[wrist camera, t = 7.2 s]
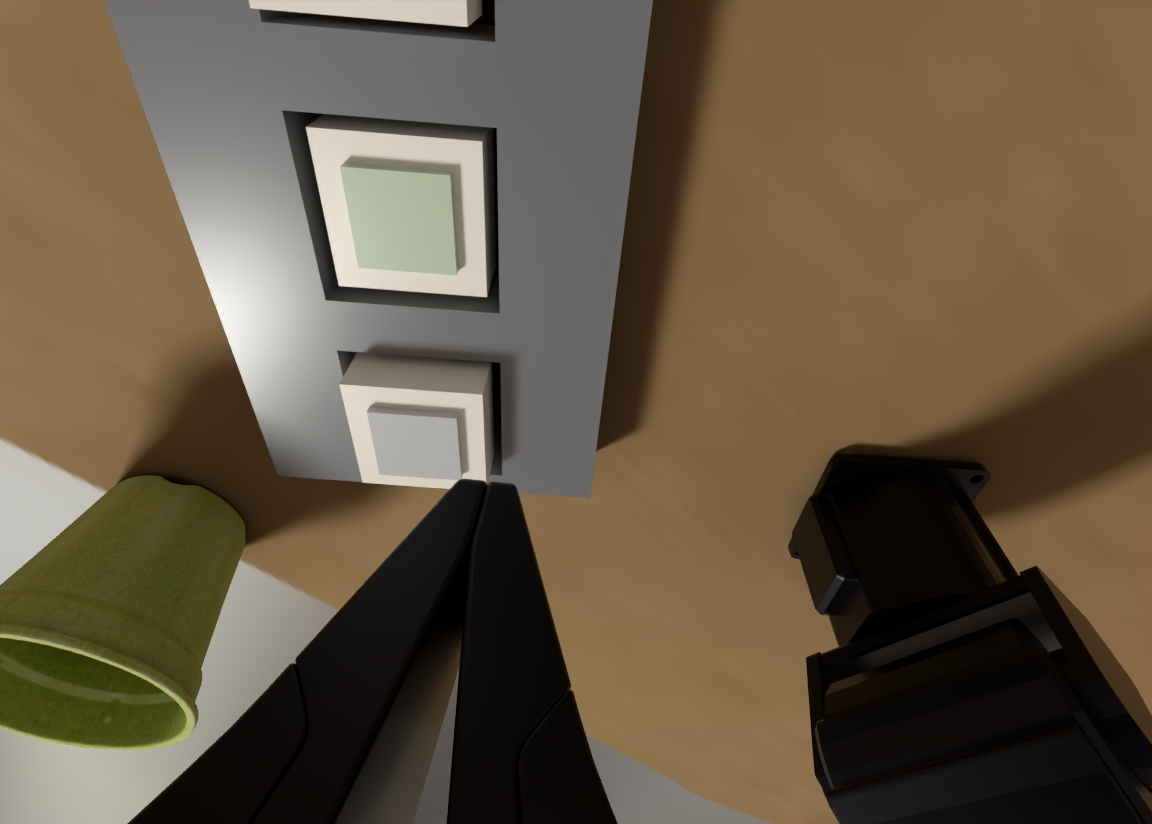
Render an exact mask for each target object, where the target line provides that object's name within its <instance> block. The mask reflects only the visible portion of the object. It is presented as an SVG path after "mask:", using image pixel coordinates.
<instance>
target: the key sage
mask: <svg viewBox="0 0 1152 824" xmlns="http://www.w3.org/2000/svg"><path fill="white" fill-rule="evenodd" d="M306 131H307V136H308V141H309V145H310V150H311V155H312V160H313V165H314V169H315V174H316V179H317V184H318V188H319V193H320V198H321V203H322V208H323V212H324V217H325V222H326V227H327V232H328V236H329V241H330V246H331V251H332V255H333V260H334V265H335V270H336V275H337V279H338V284H339V286H346V287H359V288H372V289H385V290H398V291H411V292H424V293H437V294H450V295H463V296H476V297H487V296H488V292H489V289H490V286H491V282H492V279H493V275H494V272H495V269H496V241H495V188H494V136H493V128H490V127H478V126H466V125H454V124H442V123H430V122H417V121H405V120H393V119H381V118H369V117H357V116H345V115H333V114H323V115H322V116H320V117H319V118H318V119H316V120H315V121H313V122H312V123H311V124H309V125H308V126H306Z"/></svg>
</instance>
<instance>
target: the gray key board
mask: <svg viewBox="0 0 1152 824" xmlns="http://www.w3.org/2000/svg"><path fill="white" fill-rule="evenodd" d="M104 2H105V5H106V8H107V10H108V13H109V16H110V19H111V21H112V24H113V27H114V30H115V32H116V35H117V38H118V41H119V43H120V46H121V49H122V51H123V54H124V57H125V60H126V62H127V65H128V68H129V71H130V73H131V76H132V79H133V81H134V84H135V87H136V90H137V92H138V95H139V98H140V101H141V103H142V106H143V109H144V112H145V114H146V117H147V120H148V122H149V125H150V128H151V131H152V133H153V136H154V139H155V142H156V144H157V147H158V150H159V152H160V155H161V158H162V161H163V163H164V166H165V169H166V172H167V174H168V177H169V180H170V183H171V185H172V188H173V191H174V193H175V196H176V199H177V202H178V204H179V207H180V210H181V213H182V215H183V218H184V221H185V223H186V226H187V229H188V232H189V234H190V237H191V240H192V243H193V245H194V248H195V251H196V254H197V256H198V259H199V262H200V264H201V267H202V270H203V273H204V275H205V278H206V281H207V284H208V286H209V289H210V292H211V294H212V297H213V300H214V303H215V305H216V308H217V311H218V314H219V316H220V319H221V322H222V325H223V327H224V330H225V333H226V335H227V338H228V341H229V344H230V346H231V349H232V352H233V355H234V357H235V360H236V363H237V365H238V368H239V371H240V374H241V376H242V379H243V382H244V385H245V387H246V390H247V393H248V396H249V398H250V401H251V404H252V406H253V409H254V412H255V415H256V417H257V420H258V423H259V426H260V428H261V431H262V434H263V436H264V439H265V442H266V445H267V447H268V450H269V453H270V456H271V458H272V461H273V464H274V467H275V469H276V472H277V475H278V476H283V477H298V478H312V479H326V480H341V481H355V482H362V478H361V474H360V470H359V466H358V461H357V457H356V453H355V449H354V444H353V440H352V436H351V432H350V428H349V423H348V419H347V415H346V411H345V406H344V402H343V398H342V394H341V389H340V385H339V384H340V382H341V380H342V378H343V377H344V375H345V373H346V371H347V369H348V368H349V366H350V364H351V362H352V360H353V359H354V357H355V355H356V353H357V352H364V353H377V354H391V355H404V356H418V357H431V358H445V359H458V360H472V361H485V362H499V363H500V367H501V431H502V432H494V456H493V461H492V466H491V472H490V477H489V482H488V484H489V483H490V482H502V483H512V484H514V485H515V486H516V487H517V490H518V493H527V494H542V495H556V496H570V497H585V498H590V495H591V488H592V480H593V472H594V464H595V456H596V448H597V440H598V432H599V424H600V416H601V408H602V400H603V392H604V385H605V377H606V369H607V361H608V353H609V345H610V337H611V329H612V321H613V313H614V305H615V297H616V290H617V282H618V274H619V266H620V258H621V250H622V242H623V234H624V226H625V218H626V210H627V202H628V195H629V187H630V179H631V171H632V163H633V155H634V147H635V139H636V131H637V123H638V115H639V107H640V99H641V92H642V84H643V76H644V68H645V60H646V52H647V44H648V36H649V28H650V20H651V12H652V4H653V0H495V26H491V25H480V24H471V25H469V26H468V27H461V26H450V25H438V24H427V23H415V22H404V21H392V20H380V19H369V18H357V17H346V16H334V15H322V14H311V13H299V12H288V11H276V10H265V9H253V8H250V5H249V0H104ZM323 114H333V115H345V116H357V117H369V118H381V119H393V120H405V121H417V122H430V123H442V124H454V125H466V126H478V127H490V128H497V175H498V239H499V276H496V275H493V279H492V282H491V286H490V289H489V292H488V296H487V297H476V296H463V295H450V294H437V293H424V292H411V291H398V290H385V289H372V288H359V287H346V286H339V284H338V279H337V275H336V270H335V265H334V260H333V255H332V251H331V246H330V241H329V236H328V232H327V227H326V222H325V217H324V212H323V208H322V203H321V198H320V193H319V188H318V184H317V179H316V174H315V169H314V165H313V160H312V155H311V150H310V145H309V141H308V136H307V131H306V126H308V125H309V124H311V123H312V122H313V121H315V120H316V119H318V118H319V117H320V116H322V115H323Z"/></svg>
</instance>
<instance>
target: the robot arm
mask: <svg viewBox="0 0 1152 824" xmlns="http://www.w3.org/2000/svg"><path fill="white" fill-rule="evenodd" d="M843 465H845V466H843ZM841 466H842V467H841ZM989 478H990V473H989V472H988V471H987V469H986V468H985V467H984V466H983V465H982V464H977V463H963V462H949V461H935V460H921V459H907V458H893V457H880V456H866V455H852V454H840V455H837V456H834V457H833V458H831V459H830V461H829V462H828V464H827V466H826V468H825V470H824V472H823V474H822V477H821V479H820V481H819V483H818V485H817V487H816V489H815V491H814V493H813V495H812V496H811V497H810V498H809V499H808V501H807V503H806V505H805V507H804V509H803V511H802V513H801V515H800V517H799V519H798V521H797V524H796V526H795V528H794V530H793V532H792V539H791V541H790V543H789V545H788V549H789V552H790V555H791V557H793V558H796V559H800V561H801V565H802V568H803V571H804V574H805V577H806V581H807V584H808V587H809V590H810V593H811V597H812V600H813V603H814V606H815V609H816V610H817V611H818V612H819V614H821V615H828V616H829V619H830V622H831V625H832V628H833V631H834V634H835V637H836V640H837V643H838V646H839V647H838V648H835V649H833V650H830V651H827V652H825V653H820V652H818V653H816V654H813V655H811V656H808V657H806V663H807V677H808V693H809V706H810V719H811V734H812V748H813V759H814V771H815V775H816V778H817V780H818V782H819V783H820V785H821V787H822V789H823V792H824V795H825V797H826V799H827V801H828V803H829V805H830V808H831V810H832V811H833V813H834V815H835V817H836V818H837V820H838V822H839V823H840V824H1152V716H1151V714H1150V712H1149V710H1148V708H1147V706H1146V705H1145V703H1144V701H1143V699H1142V697H1141V695H1140V694H1139V692H1138V690H1137V688H1136V686H1135V685H1134V683H1133V682H1132V680H1131V679H1130V677H1129V676H1128V674H1127V673H1126V672H1125V670H1124V669H1123V667H1122V666H1121V665H1120V663H1119V662H1118V661H1117V659H1116V658H1115V656H1114V655H1113V654H1112V652H1111V651H1110V650H1109V648H1108V647H1107V645H1106V644H1105V643H1104V641H1103V640H1102V639H1101V637H1100V636H1099V635H1098V633H1097V632H1096V630H1095V629H1094V628H1093V626H1092V625H1091V624H1090V622H1089V621H1088V620H1087V619H1086V617H1085V616H1084V615H1083V614H1082V613H1081V612H1080V611H1079V610H1078V609H1077V608H1076V607H1075V606H1074V605H1073V604H1072V603H1071V602H1070V600H1069V599H1068V598H1067V597H1066V596H1065V595H1064V594H1063V593H1062V592H1061V591H1060V590H1059V589H1058V588H1057V587H1056V586H1055V585H1054V584H1053V582H1052V581H1051V580H1050V579H1049V578H1048V577H1047V576H1046V575H1045V574H1044V573H1043V572H1042V571H1041V570H1040V569H1039V568H1038V567H1037V566H1034V567H1032V568H1029V569H1027V570H1024V571H1021V572H1020V574H1021V575H1020V576H1019V575H1018V574H1017V572H1016V571H1015V569H1014V568H1013V566H1012V564H1011V563H1010V561H1009V560H1008V558H1007V557H1006V555H1005V553H1004V552H1003V550H1002V549H1001V547H1000V546H999V544H998V542H997V541H996V539H995V538H994V536H993V535H992V533H991V531H990V530H989V528H988V527H987V525H986V524H985V522H984V520H983V519H982V517H981V516H980V514H979V513H978V511H977V509H976V508H975V506H974V505H973V503H972V502H973V500H974V499H975V498H976V496H977V495H978V494H979V492H980V491H981V490H982V488H983V487H984V486H985V484H986V483H987V482H988V480H989ZM459 665H460V667H459ZM458 669H459V680H458V692H457V704H456V716H455V729H454V741H453V753H452V765H451V777H450V790H449V802H448V815H447V824H618V823H617V821H616V819H615V816H614V814H613V811H612V809H611V806H610V803H609V801H608V798H607V795H606V793H605V790H604V787H603V785H602V783H601V779H600V777H599V774H598V772H597V769H596V766H595V763H594V760H593V757H592V754H591V751H590V747H589V744H588V741H587V738H586V735H585V731H584V728H583V725H582V722H581V718H580V715H579V711H578V708H577V704H576V700H575V697H574V693H573V691H572V690H570V689H571V683H570V680H569V676H568V672H567V669H566V665H565V661H564V658H563V654H562V650H561V647H560V643H559V640H558V636H557V632H556V629H555V625H554V621H553V618H552V614H551V610H550V607H549V603H548V600H547V596H546V592H545V589H544V585H543V581H542V578H541V574H540V570H539V567H538V563H537V559H536V556H535V552H534V549H533V545H532V541H531V538H530V534H529V530H528V527H527V523H526V519H525V516H524V512H523V509H522V505H521V501H520V498H519V494H518V490H517V487H516V486H515V485H514V484H512V483H502V482H490V483H489V484H488V485H487V483H486V482H485V481H483V480H473V479H460V480H458V481H457V482H456V483H455V484H454V485H453V486H452V487H451V489H450V490H449V491H448V492H447V493H446V494H445V495H444V496H443V497H442V498H441V499H440V501H439V502H438V503H437V504H436V505H435V506H434V507H433V508H432V509H431V510H430V512H429V513H428V514H427V515H426V516H425V517H424V518H423V519H422V520H421V521H420V523H419V524H418V525H417V526H416V527H415V528H414V529H413V530H412V531H411V532H410V533H409V535H408V536H407V537H406V538H405V539H404V540H403V541H402V542H401V543H400V544H399V546H398V547H397V548H396V549H395V550H394V551H393V552H392V553H391V554H390V555H389V557H388V558H387V559H386V560H385V561H384V562H383V563H382V564H381V565H380V566H379V567H378V569H377V570H376V571H375V572H374V573H373V574H372V575H371V576H370V577H369V578H368V580H367V581H366V582H365V583H364V584H363V585H362V586H361V587H360V588H359V589H358V591H357V592H356V593H355V594H354V595H353V596H352V597H351V598H350V599H349V600H348V601H347V603H346V604H345V605H344V606H343V607H342V608H341V609H340V610H339V611H338V613H337V614H336V615H335V616H334V617H333V618H332V619H331V620H330V621H329V622H328V623H327V625H326V626H325V627H324V628H323V629H322V630H321V631H320V632H319V633H318V635H316V637H315V638H314V639H313V640H312V641H311V642H310V643H309V644H308V645H307V647H306V648H305V649H304V650H303V651H302V652H301V653H300V654H299V655H298V656H297V658H296V664H294V663H292V664H290V665H289V666H288V667H287V668H286V669H285V670H284V671H283V672H282V673H281V675H280V676H279V677H278V678H277V679H276V680H275V681H274V682H273V683H272V684H271V686H270V687H269V688H268V689H267V690H266V691H265V692H264V693H263V694H262V695H261V696H260V697H259V698H258V699H257V700H256V701H255V702H254V704H253V705H252V706H251V707H250V708H249V709H248V710H247V711H246V712H245V713H244V714H243V715H242V716H241V717H240V718H239V719H238V720H237V721H236V722H235V723H234V724H233V726H231V728H229V729H228V730H227V732H225V733H224V734H223V735H222V736H221V737H220V738H219V739H218V740H217V741H216V742H215V743H214V744H213V745H212V746H211V747H209V748H208V749H207V750H206V751H205V752H204V753H203V754H202V755H201V756H200V757H199V758H198V759H197V760H196V761H195V762H194V763H193V764H192V765H191V766H190V767H189V768H187V769H186V770H185V771H184V772H183V773H182V774H181V775H180V776H179V777H178V778H177V779H175V780H174V781H173V782H172V783H171V784H170V785H169V786H168V787H167V788H166V789H165V790H163V791H162V792H161V794H159V795H158V796H157V797H156V798H155V799H154V800H153V801H152V802H150V803H149V805H147V806H146V807H145V808H144V809H143V810H142V811H141V812H140V813H138V814H137V816H135V817H134V818H133V819H132V820H131V821H130V822H129V823H128V824H413V823H414V820H415V816H416V813H417V809H418V806H419V802H420V799H421V796H422V792H423V789H424V785H425V782H426V778H427V775H428V772H429V768H430V765H431V761H432V758H433V754H434V751H435V748H436V744H437V740H438V737H439V734H440V730H441V727H442V724H443V720H444V717H445V713H446V710H447V706H448V703H449V700H450V696H451V693H452V689H453V685H454V682H455V679H456V676H457V672H458Z"/></svg>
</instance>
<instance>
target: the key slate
mask: <svg viewBox="0 0 1152 824" xmlns="http://www.w3.org/2000/svg"><path fill="white" fill-rule="evenodd" d="M339 385H340V389H341V394H342V398H343V402H344V406H345V411H346V415H347V419H348V423H349V428H350V432H351V436H352V440H353V444H354V449H355V453H356V457H357V461H358V466H359V470H360V474H361V478H362V483H374V484H388V485H403V486H417V487H431V488H446V489H451V487H452V486H453V485H454V484H455V483H456V482H457V481H458V480H460V479H473V480H483V481H485V482H486V483H487V485H488V482H489V477H490V472H491V466H492V461H493V456H494V424H493V387H492V362H485V361H472V360H458V359H445V358H431V357H418V356H404V355H391V354H377V353H364V352H357V353H356V355H355V357H354V359H353V360H352V362H351V364H350V366H349V368H348V369H347V371H346V373H345V375H344V377H343V378H342V380H341V382H340V384H339Z"/></svg>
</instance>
